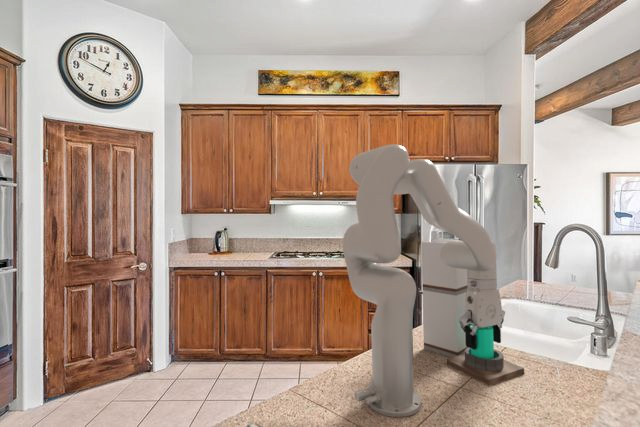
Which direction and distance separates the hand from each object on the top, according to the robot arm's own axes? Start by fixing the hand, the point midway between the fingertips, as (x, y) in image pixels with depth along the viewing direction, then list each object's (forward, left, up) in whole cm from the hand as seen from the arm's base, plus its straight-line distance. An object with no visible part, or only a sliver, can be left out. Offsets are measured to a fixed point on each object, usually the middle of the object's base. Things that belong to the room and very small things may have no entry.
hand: (483, 344), depth 95 cm
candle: (-1, 0, -6) cm, 6 cm away
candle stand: (0, 0, -7) cm, 7 cm away
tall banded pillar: (+2, +15, -7) cm, 17 cm away
